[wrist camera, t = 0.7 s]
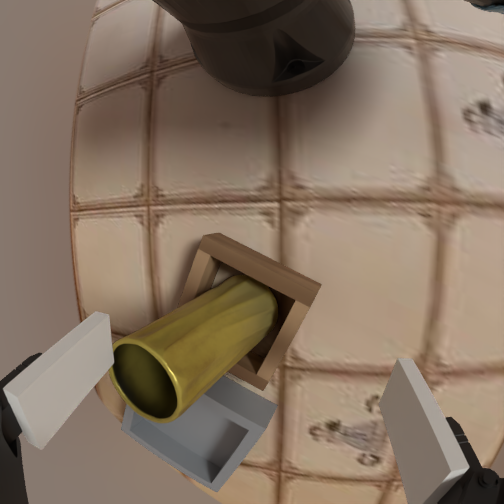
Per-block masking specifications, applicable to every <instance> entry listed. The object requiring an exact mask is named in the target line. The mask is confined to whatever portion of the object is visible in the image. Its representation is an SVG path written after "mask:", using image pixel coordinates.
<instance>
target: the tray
mask: <svg viewBox="0 0 504 504" xmlns="http://www.w3.org/2000/svg"><path fill="white" fill-rule="evenodd" d="M277 406H278V405H276V404H274V403H272V402H270V401H268V400H266V399H265V398H263V397H261V396H259V395H257V394H255V393H253V392H252V391H250V390H248V389H246V388H244V387H243V386H241V385H239V384H237V383H236V382H234V381H232V380H230V379H229V378H227V377H225V376H224V375H223V376H222V377H221V378H220V379H219V380H218V381H217V382H216V383H215V384H214V385H213V386H212V387H211V388H210V389H208V390H207V391H206V392H205V393H204V394H203V395H202V396H201V397H200V398H199V399H198V400H197V401H196V402H195V403H194V404H193V405H191V406H190V407H189V408H188V409H187V410H186V411H185V412H184V413H183V414H182V415H181V416H180V417H178V418H177V419H175V420H174V421H172V422H169V423H156V422H153V421H151V420H148V419H146V418H144V417H142V416H140V415H139V414H137V413H136V412H135V411H133V410H132V409H131V408H130V407H129V406H128V405H127V403H126V408H125V413H124V417H123V422H122V427H121V430H122V431H124V432H125V433H126V434H128V435H129V436H130V437H131V438H133V439H134V440H135V441H137V442H138V443H140V444H141V445H142V446H144V447H145V448H146V449H148V450H149V451H151V452H152V453H153V454H155V455H156V456H158V457H159V458H161V459H162V460H164V461H165V462H167V463H168V464H170V465H171V466H173V467H174V468H176V469H177V470H179V471H181V472H182V473H184V474H186V475H187V476H189V477H190V478H192V479H194V480H196V481H197V482H199V483H201V484H202V485H204V486H206V487H208V488H210V489H211V490H213V491H215V492H218V491H219V489H220V488H221V487H222V486H223V485H224V483H225V482H226V481H227V480H228V478H229V477H230V476H231V475H232V473H233V472H234V471H235V470H236V468H237V467H238V466H239V464H240V463H241V462H242V461H243V459H244V458H245V457H246V455H247V454H248V453H249V451H250V450H251V449H252V447H253V446H254V445H255V443H256V442H257V441H258V439H259V438H260V436H261V435H262V434H263V432H264V431H265V429H266V428H267V426H268V424H269V422H270V420H271V418H272V416H273V414H274V412H275V410H276V408H277Z"/></svg>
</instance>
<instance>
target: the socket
mask: <svg viewBox="0 0 504 504" xmlns="http://www.w3.org/2000/svg"><path fill="white" fill-rule="evenodd" d="M221 261H222V262H224V263H226V264H228V265H229V266H231V267H233V268H235V269H237V270H239V271H241V272H243V273H244V274H246V275H248V276H250V277H252V278H254V279H256V280H258V281H260V282H262V283H263V284H265V285H267V286H269V287H271V288H273V289H275V290H277V291H279V292H281V293H283V294H285V295H287V296H288V297H290V298H292V299H294V300H296V301H295V303H294V305H293V307H292V309H291V311H290V313H289V314H288V316H287V318H286V320H285V322H284V324H283V326H282V328H281V330H280V332H279V334H278V336H277V338H276V340H275V341H274V343H273V345H272V347H271V349H270V351H269V353H268V355H267V356H266V358H265V359H264V358H262V357H261V356H259V355H257V354H255V353H253V352H252V351H249V352H248V353H247V354H246V355H245V356H244V357H243V358H241V359H240V360H239V361H238V362H237V363H236V364H235V365H234V366H233V367H232V368H231V369H229V370H228V372H230V373H232V374H233V375H235V376H237V377H239V378H240V379H242V380H244V381H246V382H247V383H249V384H251V385H253V386H255V387H257V388H258V389H260V390H262V391H263V390H264V389H265V387H266V385H267V384H268V382H269V380H270V379H271V377H272V375H273V374H274V372H275V370H276V368H277V367H278V365H279V363H280V361H281V360H282V358H283V356H284V354H285V353H286V351H287V349H288V347H289V345H290V344H291V342H292V340H293V338H294V336H295V334H296V333H297V331H298V329H299V327H300V325H301V323H302V322H303V320H304V318H305V316H306V314H307V312H308V310H309V308H310V306H311V305H312V303H313V301H314V299H315V297H316V295H317V293H318V291H319V289H320V287H321V285H322V284H320V283H318V282H316V281H314V280H312V279H310V278H308V277H306V276H304V275H302V274H300V273H298V272H296V271H294V270H292V269H290V268H288V267H286V266H284V265H282V264H280V263H278V262H276V261H274V260H272V259H270V258H268V257H266V256H264V255H262V254H260V253H258V252H256V251H254V250H252V249H250V248H248V247H246V246H244V245H242V244H240V243H239V242H237V241H235V240H233V239H231V238H229V237H227V236H225V235H223V234H221V233H214V234H208V235H203V237H202V240H201V242H200V245H199V248H198V251H197V253H196V256H195V259H194V262H193V264H192V267H191V270H190V273H189V275H188V278H187V281H186V284H185V287H184V290H183V292H182V295H181V298H180V301H179V304H178V307H177V308H179V307H181V306H183V305H184V304H186V303H188V302H190V301H192V300H193V299H195V298H197V297H199V296H201V295H202V294H204V293H206V292H207V291H209V290H210V289H211V286H212V284H213V281H214V279H215V276H216V273H217V271H218V268H219V266H220V263H221Z"/></svg>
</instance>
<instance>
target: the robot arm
mask: <svg viewBox="0 0 504 504" xmlns="http://www.w3.org/2000/svg"><path fill="white" fill-rule="evenodd" d="M153 1H154V2H155V3H157V4H158V5H159V6H161V7H162V8H163V9H165V10H166V11H167V12H168V13H170V14H171V15H172V16H174V17H175V18H176V19H177V20H178V21H180V22H181V23H182V24H183V27H184V29H185V31H186V33H187V35H188V38H189V40H190V42H191V46H192V49H193V52H194V54H195V57H196V59H197V60H198V62H199V63H200V65H201V66H202V67H203V68H204V69H205V70H206V71H207V72H208V73H209V74H210V75H211V76H213V77H214V78H215V79H216V80H218V81H219V82H220V83H222V84H223V85H225V86H226V87H228V88H230V89H232V90H235V91H237V92H241V93H244V94H249V95H255V96H278V95H285V94H290V93H294V92H297V91H300V90H303V89H306V88H308V87H311V86H313V85H315V84H317V83H319V82H320V81H322V80H324V79H325V78H327V77H328V76H329V75H331V74H332V73H333V72H334V71H335V70H336V69H337V68H338V67H339V66H340V65H341V64H342V63H343V62H344V60H345V59H346V57H347V56H348V54H349V52H350V50H351V48H352V45H353V42H354V38H355V20H354V12H353V8H352V5H351V2H350V0H153ZM464 1H467V2H470V3H471V4H472V5H473V6H474V7H476V8H478V9H481V10H484V11H488V12H499V13H501V14H504V0H464ZM113 364H114V356H113V348H112V339H111V329H110V319H109V314H105V313H101V312H97V311H95V312H94V313H93V314H92V315H90V316H89V317H88V318H87V319H85V320H84V321H83V322H81V323H80V324H79V325H78V326H76V327H75V328H74V329H73V330H71V331H70V332H69V333H68V334H67V335H65V336H64V337H63V338H62V339H60V340H59V341H58V342H57V343H56V344H54V345H53V346H52V347H51V348H49V349H48V350H47V351H46V352H45V353H43V354H42V353H38V354H35V355H33V356H30V357H29V358H27V359H26V360H25V361H24V362H23V363H22V365H21V364H20V365H19V366H18V367H16V370H15V369H14V370H13V371H12V372H11V373H9V374H8V375H7V376H6V377H4V378H3V379H2V380H1V381H0V504H28V498H27V493H26V486H25V480H24V473H23V465H22V457H21V444H20V440H19V437H18V436H19V435H20V433H21V432H23V434H24V436H25V438H26V440H27V441H28V442H29V443H31V444H32V445H34V446H35V447H37V448H39V449H41V450H42V449H43V448H44V447H45V445H46V444H47V443H48V442H49V440H50V439H51V438H52V437H53V435H54V434H55V433H56V432H57V431H58V429H59V428H60V427H61V426H62V424H63V423H64V422H65V421H66V419H67V418H68V417H69V416H70V414H71V413H72V412H73V411H74V410H75V408H76V407H77V406H78V405H79V404H80V403H81V401H82V400H83V399H84V398H85V397H86V395H87V394H88V393H89V392H90V391H91V390H92V388H93V387H94V386H95V385H96V384H97V382H98V381H99V380H100V379H101V378H102V377H103V375H104V374H105V373H106V372H107V371H108V369H109V368H110V367H111V366H112V365H113ZM379 407H380V410H381V413H382V416H383V419H384V422H385V425H386V428H387V431H388V435H389V438H390V441H391V444H392V448H393V451H394V455H395V458H396V461H397V465H398V468H399V472H400V475H401V479H402V483H403V486H404V490H405V494H406V498H407V502H408V504H504V478H499V476H498V475H497V473H496V472H495V471H493V470H491V469H488V468H482V466H481V464H480V462H479V460H478V458H477V456H476V454H475V452H474V450H473V449H472V447H471V445H470V443H468V439H467V437H466V435H464V434H465V433H464V432H463V430H462V428H461V426H460V424H459V423H457V422H456V421H455V420H454V419H453V418H452V417H446V418H445V417H444V415H443V413H442V411H441V409H440V407H439V405H438V403H437V402H436V400H435V398H434V396H433V394H432V393H431V391H430V389H429V387H428V385H427V384H426V382H425V380H424V378H423V377H422V375H421V373H420V371H419V370H418V368H417V366H416V365H415V363H414V361H413V359H411V358H397V361H396V363H395V366H394V369H393V371H392V374H391V376H390V379H389V381H388V383H387V386H386V388H385V391H384V393H383V395H382V397H381V400H380V402H379Z"/></svg>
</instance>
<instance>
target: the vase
mask: <svg viewBox="0 0 504 504" xmlns="http://www.w3.org/2000/svg"><path fill="white" fill-rule="evenodd" d="M277 319H278V305H277V301H276V299H275V297H274V295H273V293H272V292H271V290H270V289H269V287H268V286H267V285H265V284H263V283H262V282H260V281H258V280H256V279H254V278H252V277H250V276H248V275H236V276H232V277H230V278H228V279H226V280H225V281H224V282H223V283H222V284H221V285H220V286H217V287H215V288H213V289H211V290H209V291H207V292H206V293H204V294H202V295H201V296H199V297H197V298H195V299H193V300H192V301H190V302H188V303H186V304H184V305H183V306H181V307H179V308H177V309H175V310H174V311H172V312H170V313H168V314H167V315H165V316H163V317H161V318H159V319H158V320H156V321H154V322H152V323H150V324H149V325H147V326H145V327H143V328H142V329H140V330H138V331H136V332H134V333H132V334H130V335H128V336H125V337H123V338H121V339H119V340H117V341H116V342H114V343H113V344H112V348H113V356H114V364H113V365H112V366H111V367H110V368H109V369H108V370H109V375H110V378H111V380H112V382H113V385H114V387H115V388H116V390H117V392H118V393H119V395H120V396H121V397H122V399H123V400H124V401H125V402H126V403H127V405H128V406H129V407H130V408H131V409H132V410H133V411H135V412H136V413H137V414H139V415H140V416H142V417H144V418H146V419H148V420H151V421H153V422H156V423H169V422H172V421H174V420H175V419H177V418H178V417H180V416H181V415H182V414H183V413H184V412H185V411H186V410H187V409H188V408H189V407H190V406H191V405H193V404H194V403H195V402H196V401H197V400H198V399H199V398H200V397H201V396H202V395H203V394H204V393H205V392H206V391H207V390H208V389H210V388H211V387H212V386H213V385H214V384H215V383H216V382H217V381H218V380H219V379H220V378H221V377H222V376H223V375H224V374H225V373H226V372H227V371H228V370H229V369H231V368H232V367H233V366H234V365H235V364H236V363H237V362H238V361H239V360H240V359H241V358H243V357H244V356H245V355H246V354H247V353H248V352H249V351H250V350H251V349H252V348H253V347H255V346H256V345H257V344H258V343H259V342H260V341H261V340H262V339H263V338H264V337H265V336H266V335H268V334H269V333H270V332H271V331H272V329H273V328H274V326H275V325H276V322H277Z"/></svg>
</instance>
